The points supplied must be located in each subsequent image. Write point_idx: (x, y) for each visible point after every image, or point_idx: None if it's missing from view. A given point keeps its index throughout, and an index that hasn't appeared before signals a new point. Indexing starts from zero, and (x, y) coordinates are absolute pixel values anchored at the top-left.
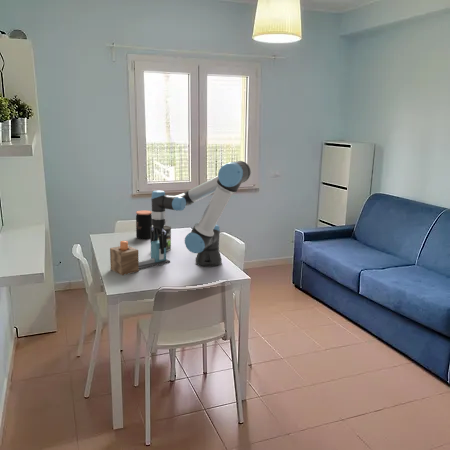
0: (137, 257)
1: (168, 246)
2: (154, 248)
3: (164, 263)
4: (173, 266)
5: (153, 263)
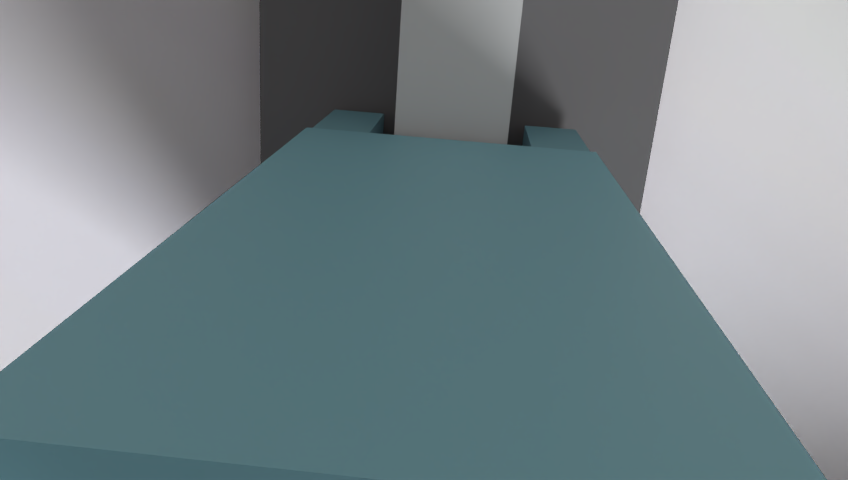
0: None
1: None
2: (306, 254)
3: None
4: (5, 310)
5: (342, 27)
